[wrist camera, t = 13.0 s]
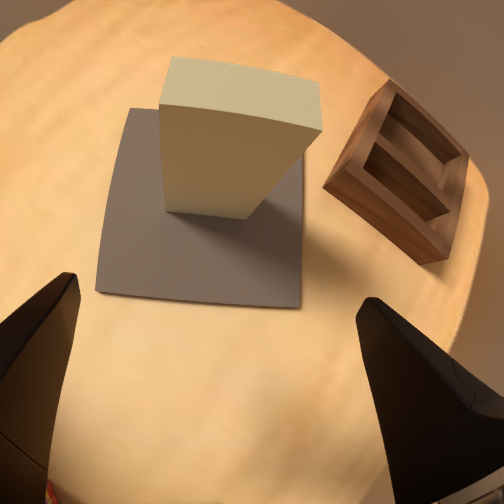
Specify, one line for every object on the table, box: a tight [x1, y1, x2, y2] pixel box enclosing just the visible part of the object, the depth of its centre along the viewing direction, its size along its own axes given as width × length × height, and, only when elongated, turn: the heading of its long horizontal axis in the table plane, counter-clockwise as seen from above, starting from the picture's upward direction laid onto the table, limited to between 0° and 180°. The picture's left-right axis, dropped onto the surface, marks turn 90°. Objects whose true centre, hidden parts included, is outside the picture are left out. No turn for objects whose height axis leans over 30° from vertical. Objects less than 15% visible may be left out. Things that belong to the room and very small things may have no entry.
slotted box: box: [322, 79, 469, 265], centre depth 27 cm, size 14×12×4 cm
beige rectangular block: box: [159, 56, 323, 220], centre depth 17 cm, size 2×6×13 cm, turn 87°
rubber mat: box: [95, 108, 302, 308], centre depth 23 cm, size 15×15×1 cm
